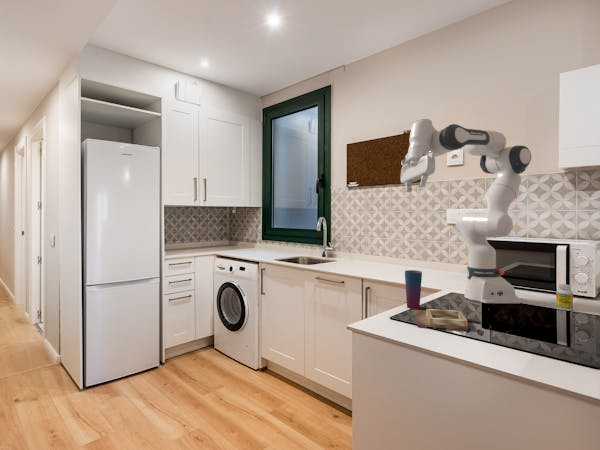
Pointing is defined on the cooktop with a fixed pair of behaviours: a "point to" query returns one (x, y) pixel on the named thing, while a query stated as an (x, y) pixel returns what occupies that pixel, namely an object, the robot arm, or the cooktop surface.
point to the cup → (413, 288)
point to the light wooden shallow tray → (441, 319)
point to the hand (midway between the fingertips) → (415, 189)
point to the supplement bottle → (564, 297)
